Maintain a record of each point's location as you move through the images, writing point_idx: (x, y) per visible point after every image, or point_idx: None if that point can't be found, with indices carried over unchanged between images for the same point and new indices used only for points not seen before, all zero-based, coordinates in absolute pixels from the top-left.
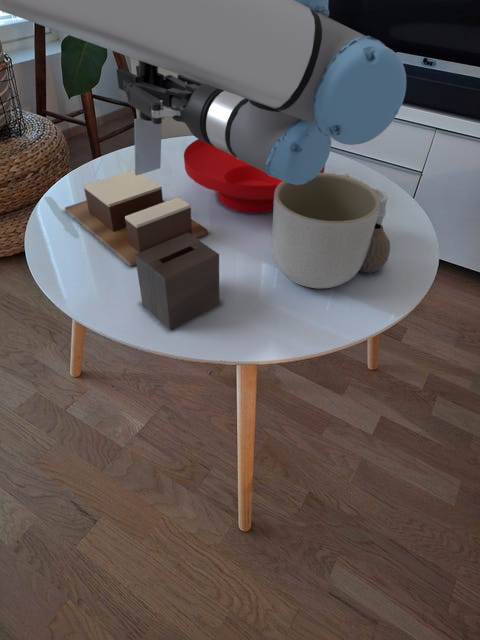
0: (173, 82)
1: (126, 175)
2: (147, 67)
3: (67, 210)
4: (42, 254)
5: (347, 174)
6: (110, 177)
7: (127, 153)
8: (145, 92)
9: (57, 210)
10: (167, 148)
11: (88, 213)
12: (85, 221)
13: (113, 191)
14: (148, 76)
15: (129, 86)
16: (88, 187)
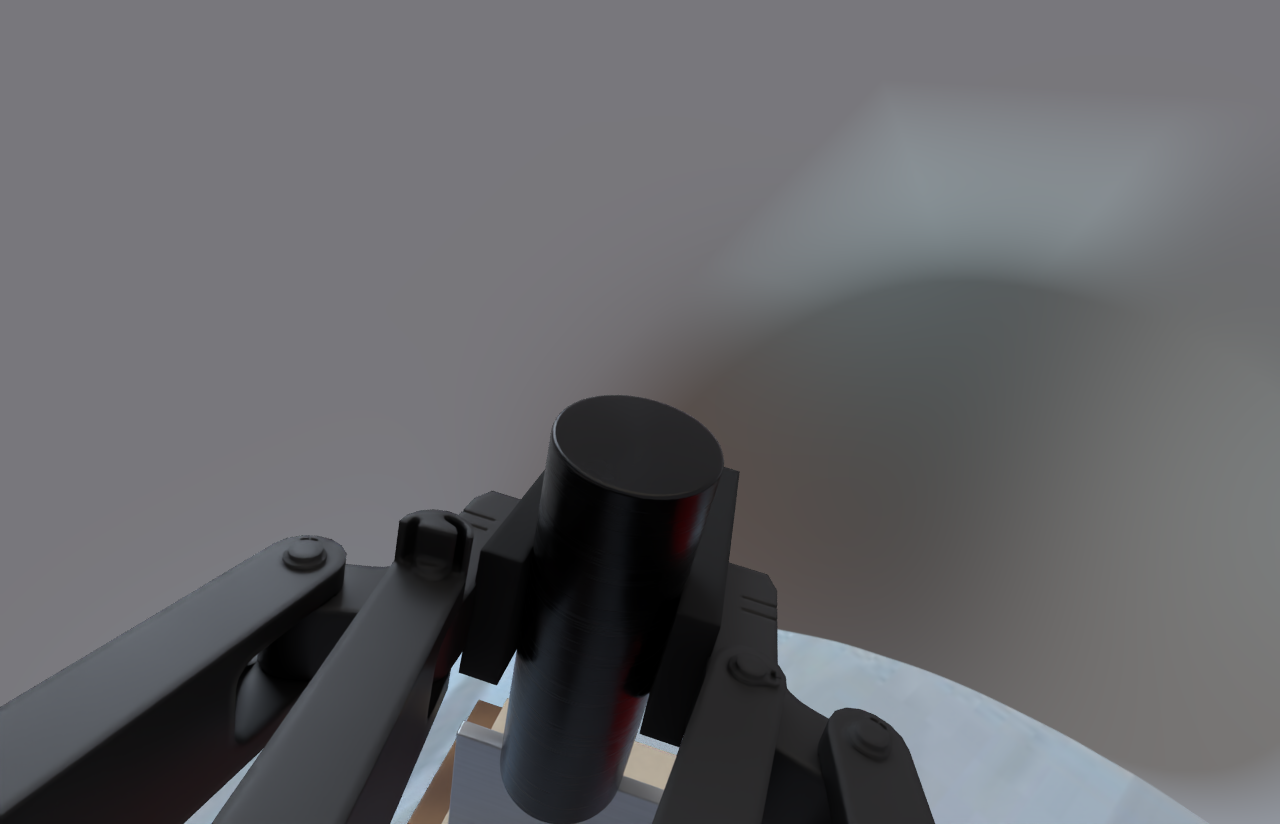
0: (667, 786)
1: (655, 768)
2: (557, 508)
3: (470, 714)
4: (198, 811)
5: None
6: None
7: (834, 657)
8: (69, 745)
9: (471, 689)
10: (958, 723)
11: None
12: (432, 801)
13: None
14: (549, 572)
15: (278, 558)
16: (504, 717)
